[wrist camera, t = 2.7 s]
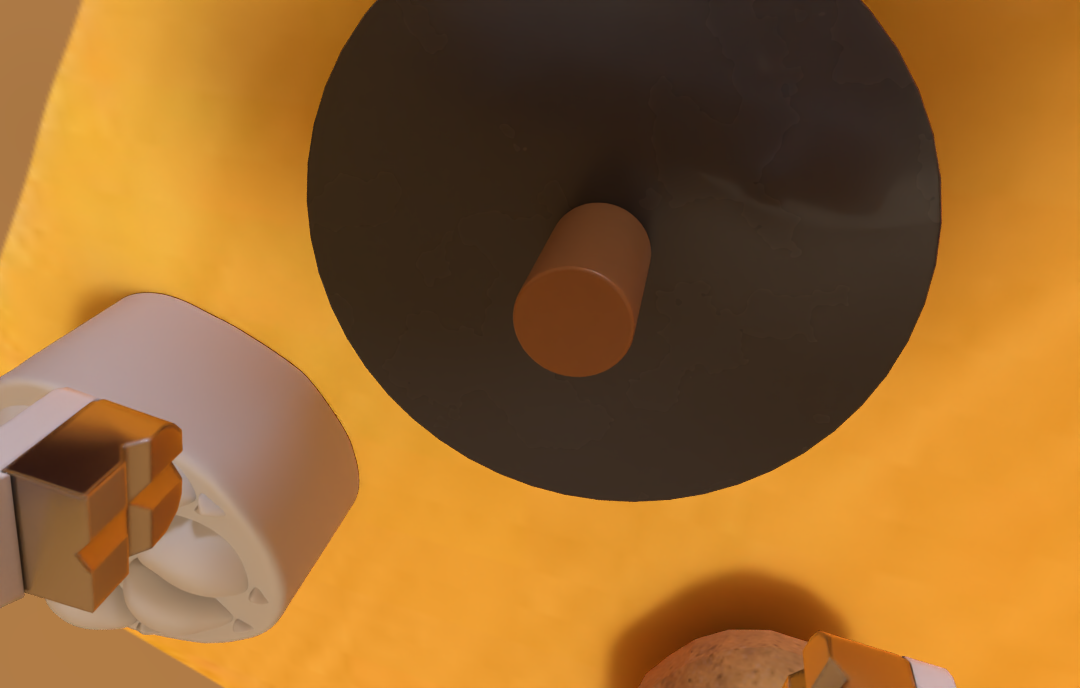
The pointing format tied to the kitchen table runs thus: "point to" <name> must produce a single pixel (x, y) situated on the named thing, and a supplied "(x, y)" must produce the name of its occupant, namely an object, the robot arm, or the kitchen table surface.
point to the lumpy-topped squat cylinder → (207, 465)
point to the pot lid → (625, 229)
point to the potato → (730, 661)
